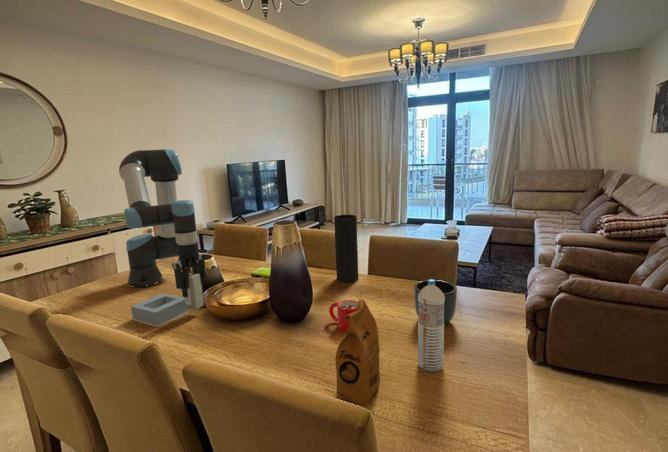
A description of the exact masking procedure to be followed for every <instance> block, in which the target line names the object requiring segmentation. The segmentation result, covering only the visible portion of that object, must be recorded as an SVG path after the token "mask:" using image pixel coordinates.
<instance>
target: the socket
mask: <svg viewBox="0 0 668 452" xmlns="http://www.w3.org/2000/svg"><path fill="white" fill-rule="evenodd" d="M130 309H131V315H132V320H133V321H135V322H139V323H142V324H144V325H149V326H153V327H156V328H159V327H162V326H163V325H166V324H167V323H170V322H171V321H173V320H175V319H177V318H179V317H181V316H183V315H185V314H188V313H189V312H190V309H188V308H186V304H185V299H184V297H183V296H179V295H174V294H169V293H160V294H159V295H156V296H154V297H151V298H148V299H146V300H143V301H141V302H139V303H136V304H134V305H131V306H130Z"/></svg>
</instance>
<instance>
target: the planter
mask: <svg viewBox="0 0 668 452" xmlns="http://www.w3.org/2000/svg"><path fill="white" fill-rule="evenodd" d="M428 280H429V279H427V280H421V281H418V282H416V283H415V284H414V287H413V291H414V292H413V293H414V296H413V297H414V308H415V312H416V315H417V316H418V314H419V301H418V294H419V292H420V291H421V290H422V289H423V288H424V287H426V286H427V285H428ZM434 280H435V286H436V287H438V288H439V289H440V290H441V291H442V292H443V294H444V296H445V302H444V327H445V326H447V324H448V323H450V322H451V321H452V319H453V318H454V316H455V313H456V308H457V307H456V306H457V297H458V296H457V295H458V290H457V289H458V288H457V286H456V284H453V283H451V282H449V281H444V280H441V279H440V280H438V279H434Z"/></svg>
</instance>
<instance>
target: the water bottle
mask: <svg viewBox="0 0 668 452" xmlns="http://www.w3.org/2000/svg"><path fill="white" fill-rule="evenodd" d="M427 280H428V285H427V286H426V287H424V288H423V289H422V290H421V291H420V292H419V294H418V301H419V314H418V315H417V316H418V321H417V364H418V367H419V368H420V369H421V371H423V372H427V373H433V374H434V373H440V372H441V371H442V370H443V368H444V361H445V360H444V356H445V354H444V353H445V352H444V351H445V350H444V349H445V326H444V302H445V296H444V294H443V292H442V291H441V290H440V289H439V288H438V287H436V286H435V280H436V279H432V278H431V279H430V278H429V279H427Z"/></svg>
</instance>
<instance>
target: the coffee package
mask: <svg viewBox="0 0 668 452" xmlns="http://www.w3.org/2000/svg"><path fill="white" fill-rule="evenodd" d="M357 302H358V303H357V311H356V312H354V313H351V314H349V315H347V316H346V317H344V320H349V324H350V325H349V327H348V329H347V331H345V333H344V335H343V337H342V339H341V340H340V342H339V344H338V346H337V349H336V353H335V357H334V360H335V372H336V395H337V396H338V397H339V399H342V400H347V401H349V402H352V403H353V402H354V403H355V404H356V405H357V404H358V405H367V404H368V403H369V402H370V400H371V398H372V396H373V394H375V393H376V392H377V391H378V389H379V387H380V382H381V376H380V341H379V339H380V338H379V331H378V325H377V322H376V319H375V317H374V315H373V314H372V312H371V310H370V308H369V306H368V304H367V303H366V301H365V299H363V298H362V299H359V300H358V301H357Z"/></svg>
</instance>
